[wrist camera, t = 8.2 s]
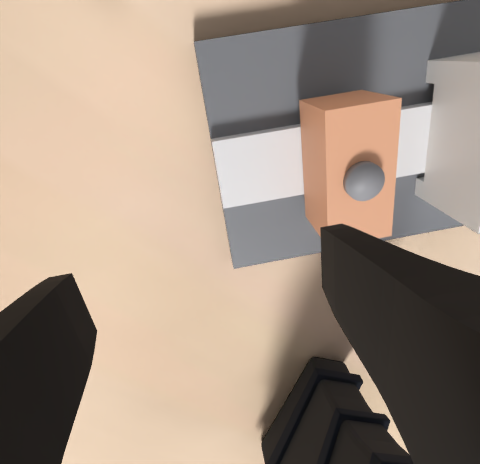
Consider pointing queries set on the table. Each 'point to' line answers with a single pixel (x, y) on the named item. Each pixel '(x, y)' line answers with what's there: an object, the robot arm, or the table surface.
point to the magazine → (330, 422)
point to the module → (454, 140)
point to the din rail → (315, 85)
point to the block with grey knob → (350, 160)
